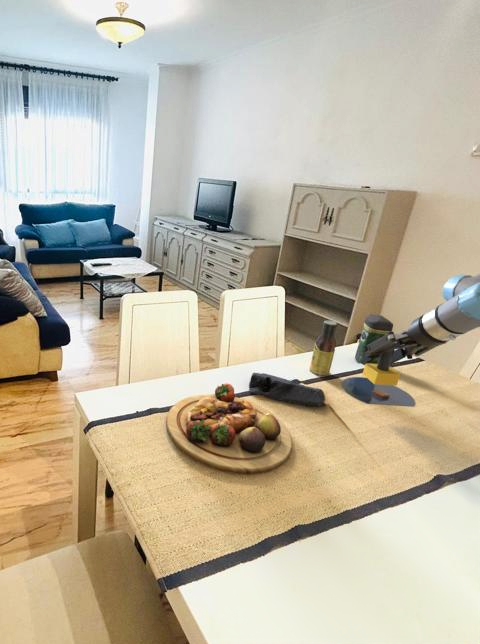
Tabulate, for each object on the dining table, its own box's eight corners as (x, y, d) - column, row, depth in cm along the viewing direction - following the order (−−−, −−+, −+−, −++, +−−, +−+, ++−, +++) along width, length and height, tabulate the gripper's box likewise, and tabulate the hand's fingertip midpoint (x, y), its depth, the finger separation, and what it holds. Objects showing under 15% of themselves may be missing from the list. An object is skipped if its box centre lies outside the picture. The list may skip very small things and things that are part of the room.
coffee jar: (383, 370, 139) (398, 323, 133) (359, 367, 141) (373, 320, 134) (374, 359, 148) (387, 314, 141) (351, 356, 150) (363, 311, 143)
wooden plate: (185, 390, 121) (188, 366, 118) (294, 419, 108) (300, 393, 106) (147, 449, 94) (149, 420, 91) (286, 496, 81) (294, 465, 78)
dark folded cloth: (322, 415, 110) (325, 401, 109) (244, 393, 120) (246, 380, 119) (325, 392, 123) (328, 379, 121) (254, 374, 133) (256, 361, 131)
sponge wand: (383, 375, 110) (396, 331, 105) (396, 385, 104) (411, 340, 100) (362, 374, 110) (374, 330, 106) (374, 384, 105) (387, 338, 100)
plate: (389, 382, 131) (390, 378, 131) (430, 415, 112) (431, 412, 112) (329, 378, 132) (330, 375, 132) (359, 411, 113) (360, 407, 113)
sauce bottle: (312, 369, 138) (324, 317, 131) (330, 375, 134) (344, 322, 127) (305, 374, 134) (317, 321, 127) (324, 381, 130) (337, 326, 123)
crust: (379, 392, 122) (380, 389, 121) (388, 397, 119) (389, 394, 119) (371, 393, 121) (372, 390, 121) (380, 398, 118) (381, 396, 118)
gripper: (400, 340, 87) (344, 371, 108) (484, 343, 87) (412, 373, 108) (391, 310, 90) (339, 346, 111) (473, 313, 90) (405, 348, 111)
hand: (375, 359), depth 109 cm, fingers closed on sponge wand, 6 cm apart
